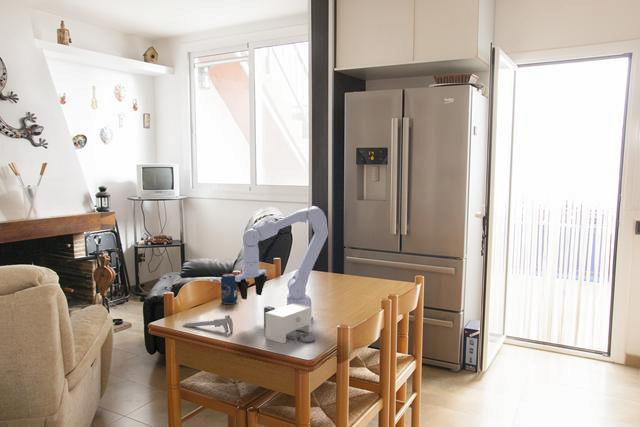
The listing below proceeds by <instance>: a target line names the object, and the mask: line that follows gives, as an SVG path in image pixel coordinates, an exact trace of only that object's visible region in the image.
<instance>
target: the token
mask: <svg viewBox="0 0 640 427" xmlns="http://www.w3.org/2000/svg"><path fill="white" fill-rule="evenodd" d="M298 341H299V342H301V343H303V344H310V343H313V342H314V341H315V336H314V335H313V334H311V333H305V334H302V335H300V336H299V340H298Z"/></svg>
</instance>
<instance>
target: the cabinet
mask: <svg viewBox="0 0 640 427" xmlns="http://www.w3.org/2000/svg"><path fill="white" fill-rule="evenodd" d="M311 316H312V306H311V307H309V306H305V305H301V304H297V303H293V304H290V305H287V304H286V305H284V306H281V307H278V308H275V310H272V311H269V312H266V331H265V339H267V340H271V341H273V342H277V343H280V344H285V343H286V342H287V338H286V333H289V332H291V331H297V330H298V331H300V332H303V333H307V334H310V333H312V318H311Z"/></svg>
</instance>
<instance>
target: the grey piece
mask: <svg viewBox="0 0 640 427" xmlns="http://www.w3.org/2000/svg"><path fill="white" fill-rule="evenodd" d="M275 309H276V308H275V307H274V306H269V305H268V306H265V307H263V330H264V332H266V312H269V311H272V310H275ZM302 334H306V332H302V331H299V330H298V331H297V330H294V331H291V332H289V333H286V339H290V340H294V341H295V342H296V341H299V336H300V335H302Z"/></svg>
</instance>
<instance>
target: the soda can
mask: <svg viewBox="0 0 640 427" xmlns="http://www.w3.org/2000/svg"><path fill="white" fill-rule="evenodd" d="M235 276H237V275H236V273H229V272H228V273H222V275H221V279H220V301H221V302H222V303H223V304H225V305H232V304H236V302H237V300H238V286H237V285H236V283H235Z"/></svg>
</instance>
